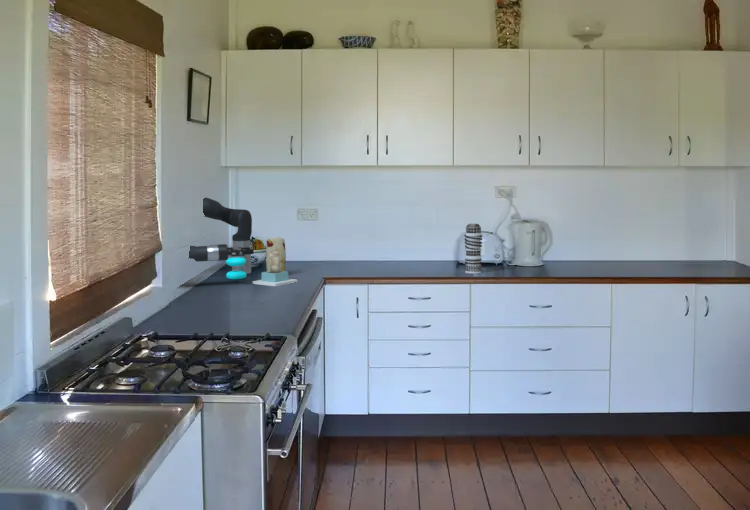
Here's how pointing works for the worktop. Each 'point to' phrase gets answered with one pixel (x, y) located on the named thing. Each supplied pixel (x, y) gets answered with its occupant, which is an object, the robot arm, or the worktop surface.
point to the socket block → (274, 279)
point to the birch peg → (274, 262)
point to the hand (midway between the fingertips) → (251, 250)
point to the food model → (276, 245)
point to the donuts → (237, 273)
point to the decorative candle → (473, 248)
